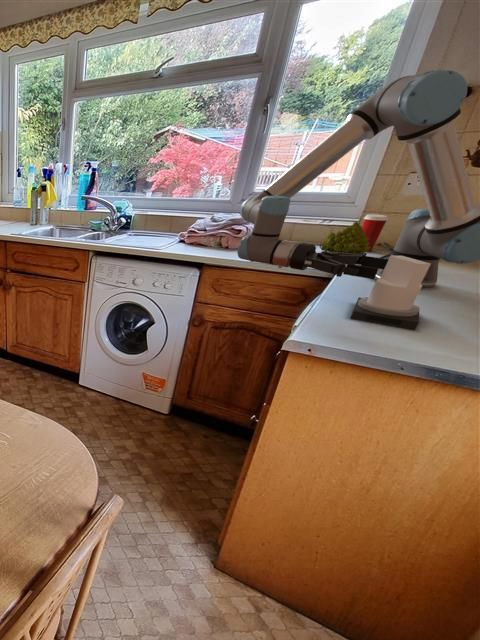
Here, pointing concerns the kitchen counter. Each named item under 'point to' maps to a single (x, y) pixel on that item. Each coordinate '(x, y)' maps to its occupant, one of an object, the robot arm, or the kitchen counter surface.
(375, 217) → the paper cup
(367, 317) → the kitchen scale
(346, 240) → the vegetable
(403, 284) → the white stepped block
